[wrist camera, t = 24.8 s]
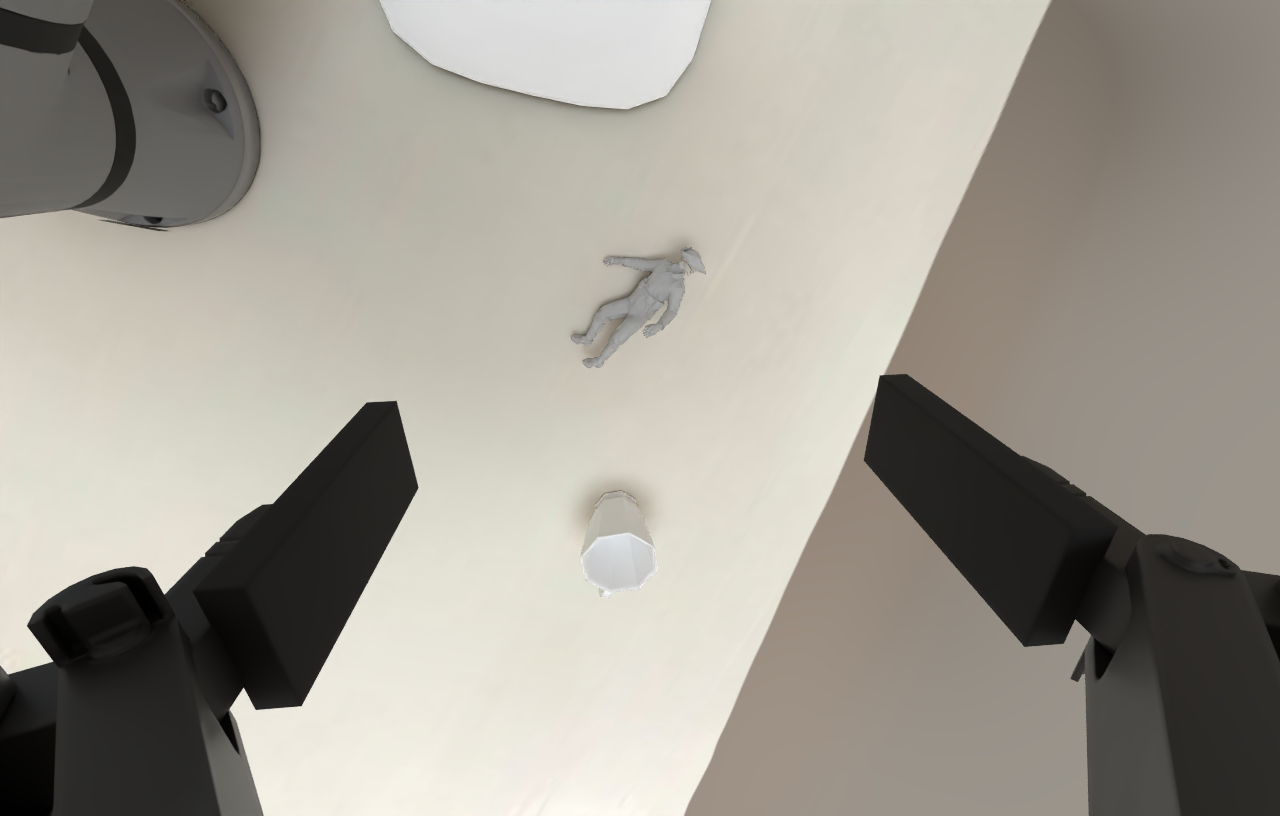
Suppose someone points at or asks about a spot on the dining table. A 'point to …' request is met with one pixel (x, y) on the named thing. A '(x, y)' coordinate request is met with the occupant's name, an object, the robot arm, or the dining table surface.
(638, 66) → the plate
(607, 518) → the cup
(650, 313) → the soldier figure
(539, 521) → the dining table surface
